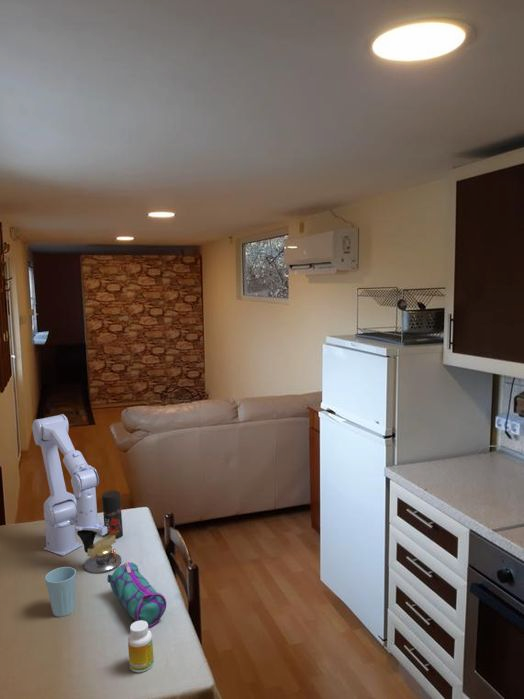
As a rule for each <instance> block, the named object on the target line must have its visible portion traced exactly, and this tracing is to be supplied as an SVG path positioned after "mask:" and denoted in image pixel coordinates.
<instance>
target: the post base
mask: <svg viewBox="0 0 524 699" xmlns="http://www.w3.org/2000/svg"><path fill="white" fill-rule="evenodd" d="M116 552H117V551H116V549H115V548H114V549H113V548H112V553H111V554H109V555H107V556H104V557H96V558H92V557H90V556H89V558H87V559H86V560H85V562H84V564H83V565H84V566H83V567H84V570H85V572H87V573H90V574H96V575H97V574H98V575H100V574H106V573H109V572H112V571H113V570H114V571H115V570H116V569H117V568H118V567H120V566H121V565H122V556H121V555H120V554H119V553H116Z"/></svg>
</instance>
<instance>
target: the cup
mask: <svg viewBox="0 0 524 699" xmlns="http://www.w3.org/2000/svg"><path fill="white" fill-rule="evenodd" d="M76 579H77V570H76V569H75V568H73V567H71V566H63V567H62V566H61V567H56V568H55V569H52V570H51V571H49V572H48V573H47V574H46V575H45V577H44V580H45V583H46V588H47V589H46V590H47V592H48V597H49V602H50V606H51V611H52V615H53V616H54V617H57V618H62V617H67V616H69V615H71V614H72V613H73V612H74V611H75V608H76V581H77V580H76Z"/></svg>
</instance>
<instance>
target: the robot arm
mask: <svg viewBox="0 0 524 699" xmlns="http://www.w3.org/2000/svg"><path fill="white" fill-rule="evenodd" d="M69 427H70V424H69V420H68V417H67V416H66V415H65V414H64V413H61V414H58V415H53V416H48V417H44V418H38V419H34V420H33V422H32V426H31V429H32V430H31V431H32V435H33V441H34V443H35V445H36V446H39V447H40V448H41V454H42V457H43V463H44V468H45V472H46V478H47V483H48V487H49V488H48V489H49V493H50V495H49V496H48V498H47V499H46V500H45V501H44V502H43V517H44V521H45V522H46V525H45V528H44V533H45V545H46V546H45V547H44V550H46V551H48V552H52V553H54V554H57V555H59V556H63V557H65V555H67V554H70V553H71V552H73V551H75V550H78V549H79V548H81V547H82V546H83V549H84V552H85V553H86V554H87V548H88V547H90V546H92V545H93V544H94V543H95V542H94V541H95V538H96V536H97V533H98V534H100V536H103V537H104V536H105V534H107V527H106V526H104V523H102V522H100V520H98V508H97V506H98V505H97V493H96V492H97V491H96V489H97V488H96V487H98V486H99V484H100V478H99V474H98V472H97V470H96V468H95V467H93V466H92V465H90V464H88V462H87V461H86V459H85V457H84V456H83V453H82V452H81V451H80V450H76V449H75V446H74V445H73V442H72V440H71V438H70V436H69V430H70V428H69ZM59 451H60V452H61V453H62V455H63V456H64V457H63V459H62V463H63V465H64V466H65V468H66V469H67V471H68V473H69V475H70V477H71V479H70V482H71V483H70V484H71V487H72V491H73V493H71V492H68V491H67V487H66V482H65V478H64V473H63V468H62V463H61V459H60V453H59ZM76 535H77V536H78V537H79V539H80V540H81V542H82V543H81V542H78V541H77V537H76Z"/></svg>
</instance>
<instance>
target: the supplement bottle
mask: <svg viewBox="0 0 524 699" xmlns="http://www.w3.org/2000/svg"><path fill="white" fill-rule="evenodd" d="M129 631H130V632H129V635H128V637H127V649H128V662H129V668H130V670H132V672H135V673H144V672H147V671H148V670H150V669H151V668H152V667H153V665H154V643H153V634H152V632H151V631H150V629H149V628H148V623H147V622H146V621H142V620H140V621H134V622H132V623H131V624H130V627H129ZM146 670H147V671H146Z"/></svg>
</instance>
